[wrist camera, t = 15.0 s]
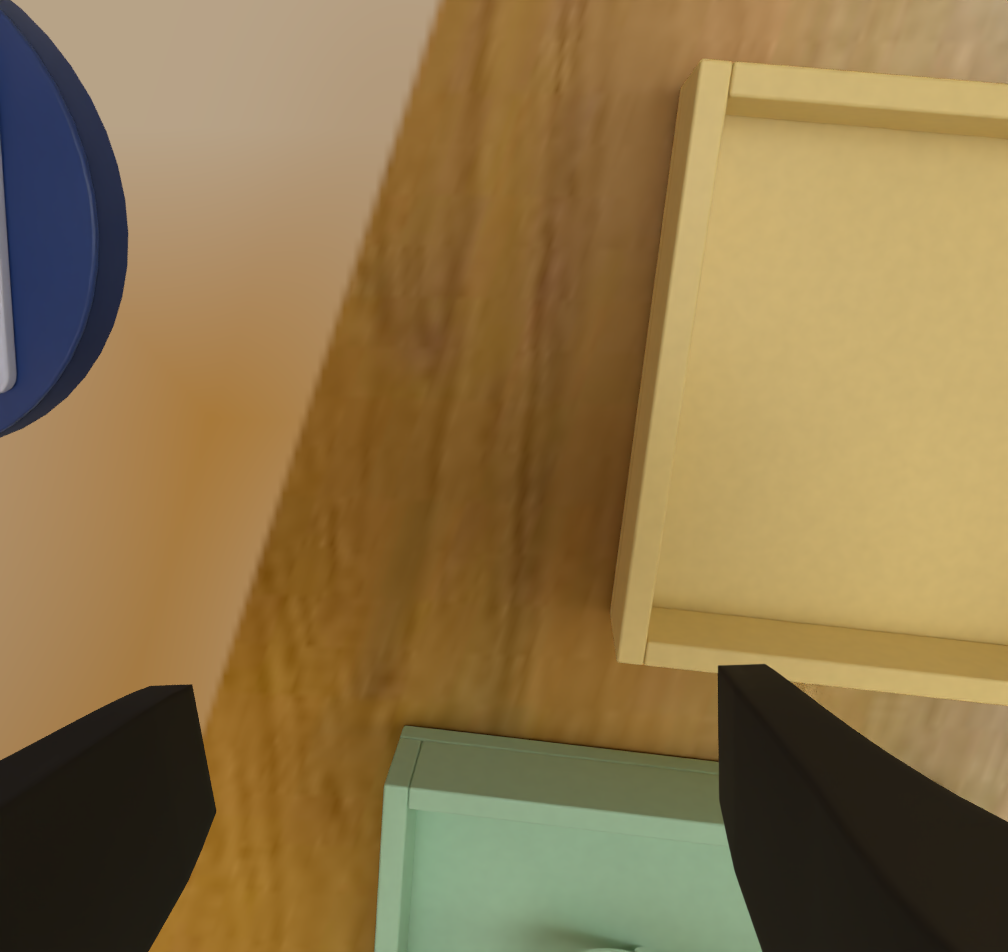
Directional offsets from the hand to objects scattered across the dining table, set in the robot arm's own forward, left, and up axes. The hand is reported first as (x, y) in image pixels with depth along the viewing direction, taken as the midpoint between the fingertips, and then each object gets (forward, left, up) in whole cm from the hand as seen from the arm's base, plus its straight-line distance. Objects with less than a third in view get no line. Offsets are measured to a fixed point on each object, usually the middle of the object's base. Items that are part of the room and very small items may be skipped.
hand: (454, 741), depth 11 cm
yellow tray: (+9, +4, -9) cm, 14 cm away
